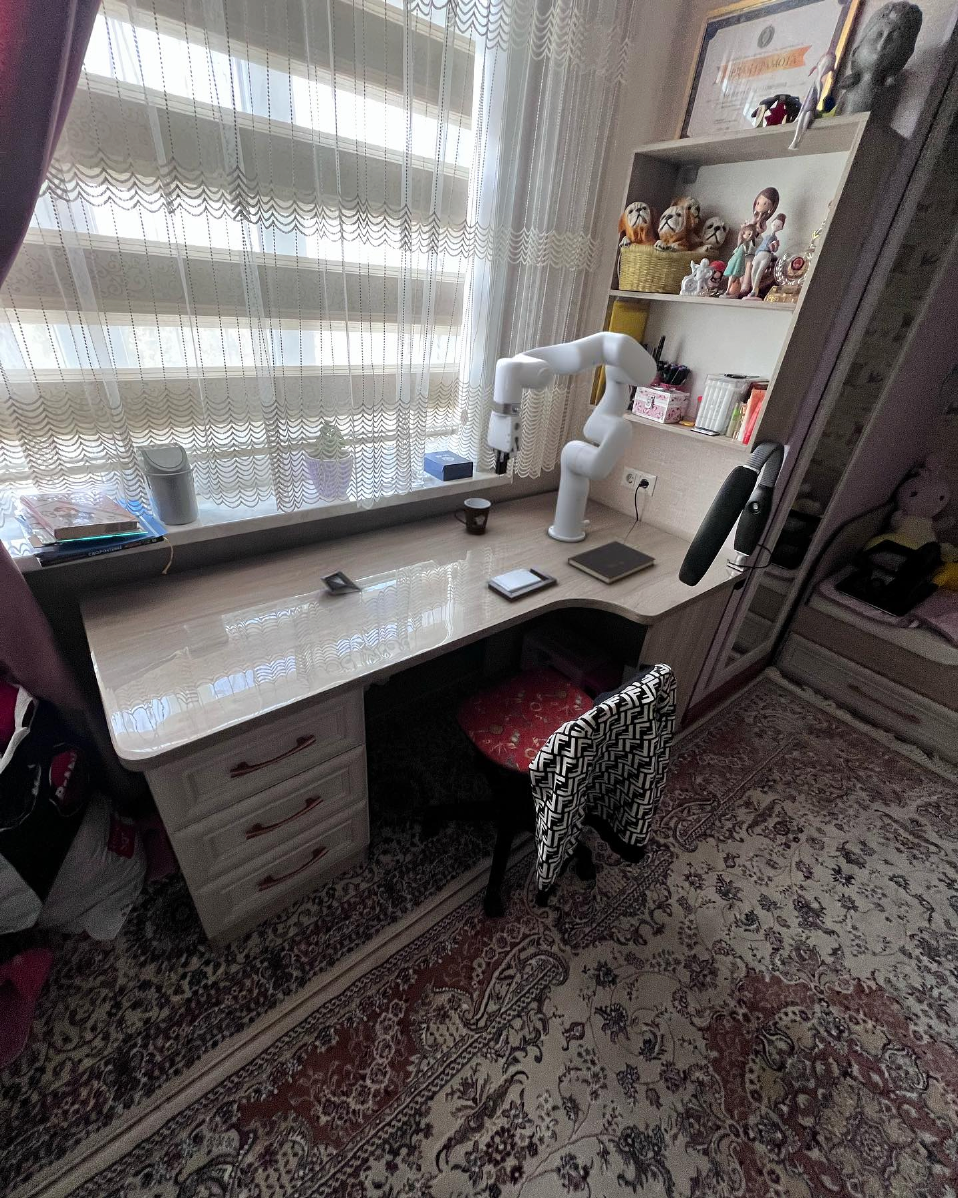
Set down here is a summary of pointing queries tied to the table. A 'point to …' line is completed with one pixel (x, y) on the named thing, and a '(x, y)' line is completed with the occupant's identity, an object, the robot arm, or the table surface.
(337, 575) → the paper boat
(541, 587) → the dark brown open frame
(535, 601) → the table surface
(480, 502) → the coffee mug
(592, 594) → the table surface
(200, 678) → the table surface
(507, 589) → the hard drive
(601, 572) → the hardcover book
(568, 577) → the table surface
